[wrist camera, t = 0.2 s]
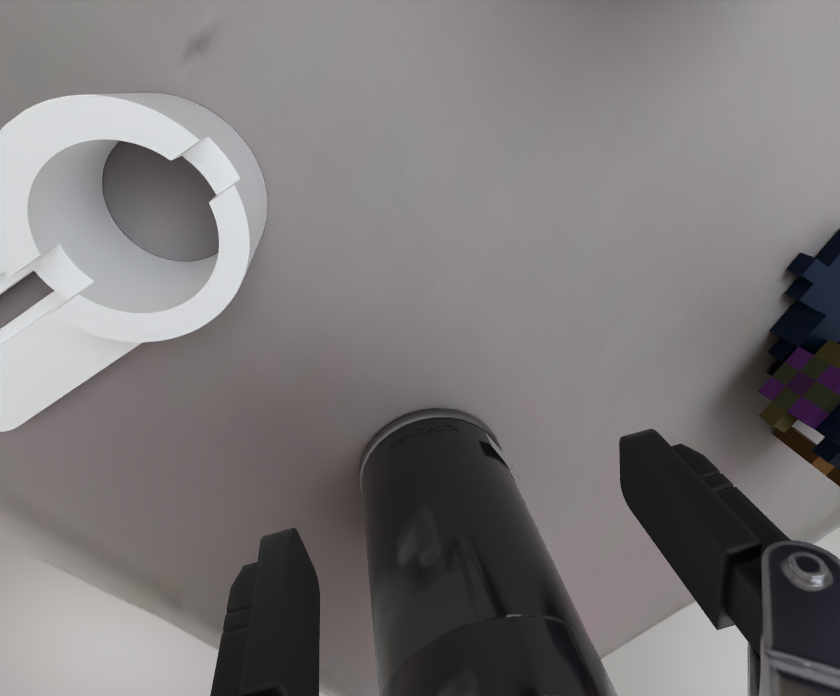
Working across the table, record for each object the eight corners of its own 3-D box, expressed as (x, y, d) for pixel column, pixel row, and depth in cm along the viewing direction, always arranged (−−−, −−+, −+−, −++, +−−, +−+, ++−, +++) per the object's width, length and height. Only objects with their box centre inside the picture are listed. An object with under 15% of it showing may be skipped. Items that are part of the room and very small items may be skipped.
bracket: (176, 50, 22) (121, 36, 16) (304, 222, 26) (297, 262, 20) (-163, 304, 24) (-321, 375, 18) (2, 427, 28) (-84, 517, 22)
